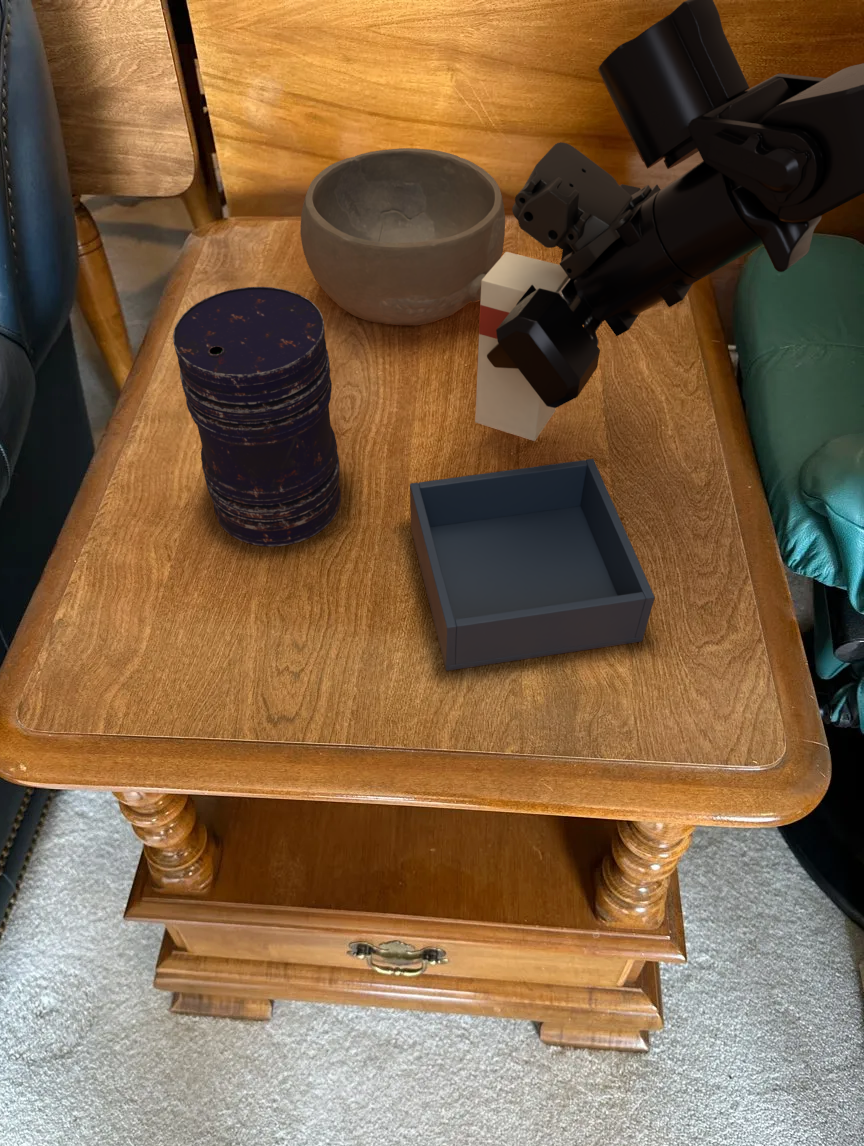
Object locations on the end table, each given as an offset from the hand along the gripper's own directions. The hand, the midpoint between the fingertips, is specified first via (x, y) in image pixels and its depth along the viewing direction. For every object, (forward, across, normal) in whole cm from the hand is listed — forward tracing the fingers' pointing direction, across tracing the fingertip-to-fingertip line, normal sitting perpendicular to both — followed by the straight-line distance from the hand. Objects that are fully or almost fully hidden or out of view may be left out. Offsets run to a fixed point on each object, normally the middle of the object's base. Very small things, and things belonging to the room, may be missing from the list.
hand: (503, 344), depth 69 cm
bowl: (+18, -14, -5) cm, 23 cm away
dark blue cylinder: (+15, +14, -2) cm, 20 cm away
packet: (+3, 0, +5) cm, 6 cm away
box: (0, +13, +12) cm, 18 cm away
